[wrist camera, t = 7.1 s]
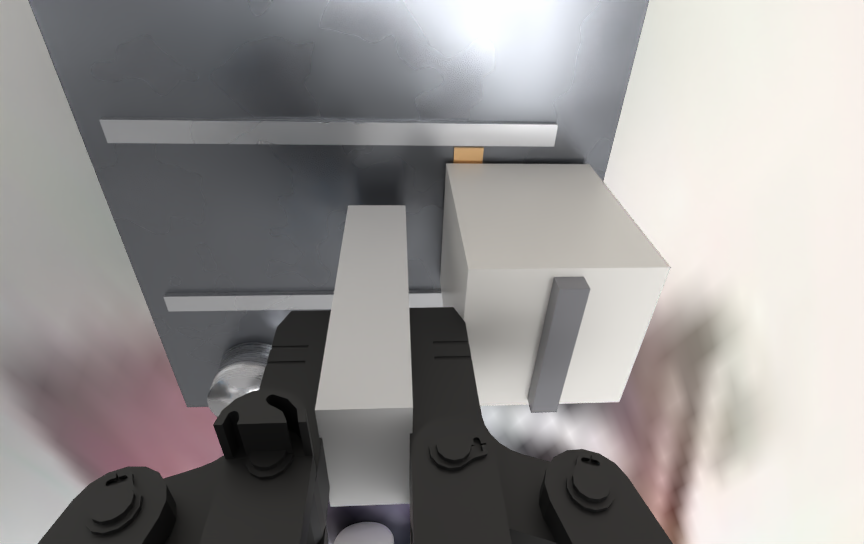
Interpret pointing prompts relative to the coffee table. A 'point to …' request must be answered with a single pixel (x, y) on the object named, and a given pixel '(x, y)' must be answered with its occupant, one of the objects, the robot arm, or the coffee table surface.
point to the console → (313, 139)
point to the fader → (546, 282)
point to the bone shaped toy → (365, 534)
